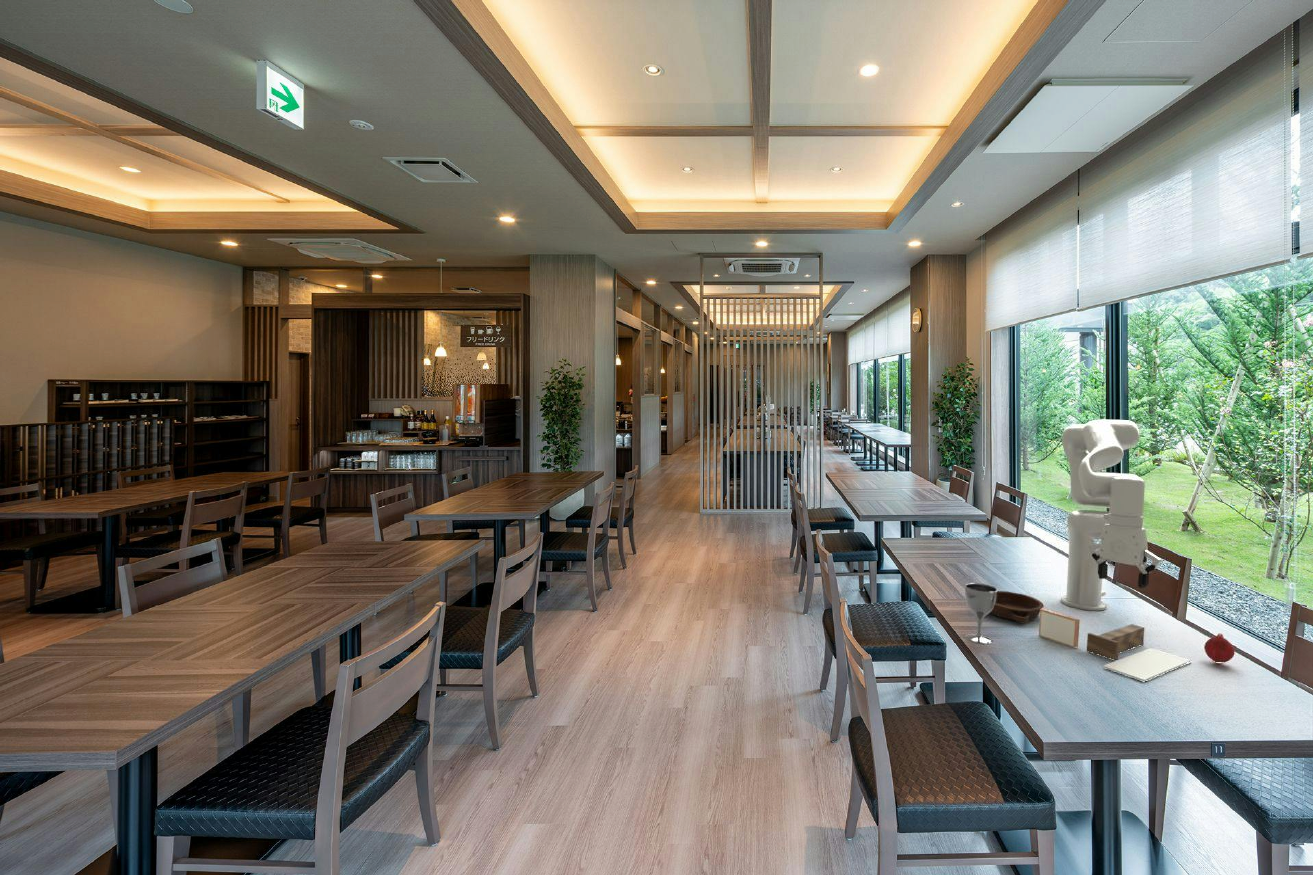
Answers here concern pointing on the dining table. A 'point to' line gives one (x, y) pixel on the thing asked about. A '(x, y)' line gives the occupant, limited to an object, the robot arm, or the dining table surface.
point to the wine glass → (980, 607)
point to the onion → (1219, 649)
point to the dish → (1016, 606)
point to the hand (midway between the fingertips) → (1122, 582)
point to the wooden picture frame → (1059, 627)
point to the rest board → (1146, 664)
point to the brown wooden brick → (1115, 641)
